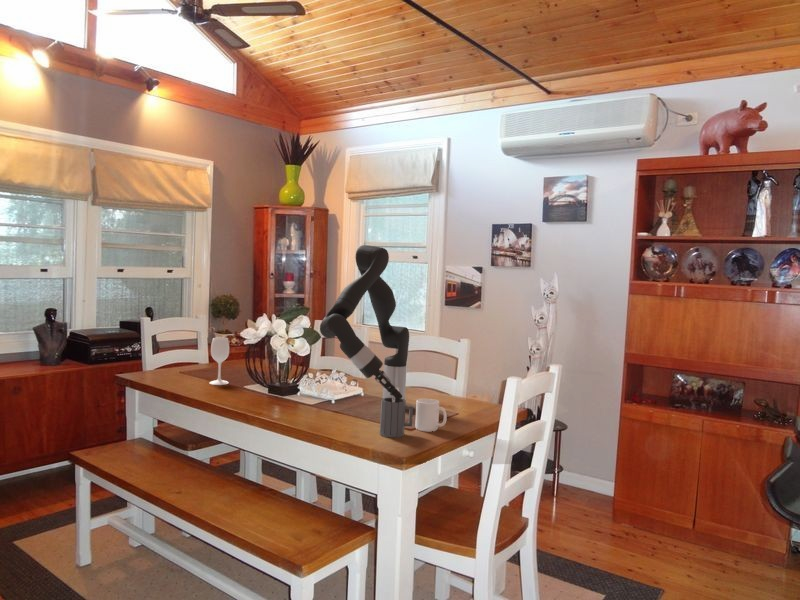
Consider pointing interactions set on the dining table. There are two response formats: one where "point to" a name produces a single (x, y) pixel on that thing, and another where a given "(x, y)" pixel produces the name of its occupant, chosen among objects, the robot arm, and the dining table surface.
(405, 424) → the gray tankard
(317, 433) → the dining table surface
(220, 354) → the wineglass
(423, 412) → the cup
